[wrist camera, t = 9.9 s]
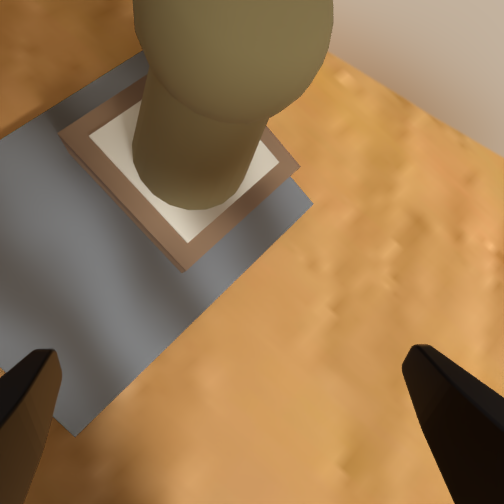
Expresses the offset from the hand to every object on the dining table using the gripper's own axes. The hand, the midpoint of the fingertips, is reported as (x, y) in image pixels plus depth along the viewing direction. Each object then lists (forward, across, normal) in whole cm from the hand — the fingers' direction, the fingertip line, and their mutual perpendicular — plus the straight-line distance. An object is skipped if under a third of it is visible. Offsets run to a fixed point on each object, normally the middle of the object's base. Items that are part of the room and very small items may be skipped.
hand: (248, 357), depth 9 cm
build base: (+12, +5, +3) cm, 14 cm away
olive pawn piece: (+12, +2, -1) cm, 13 cm away
